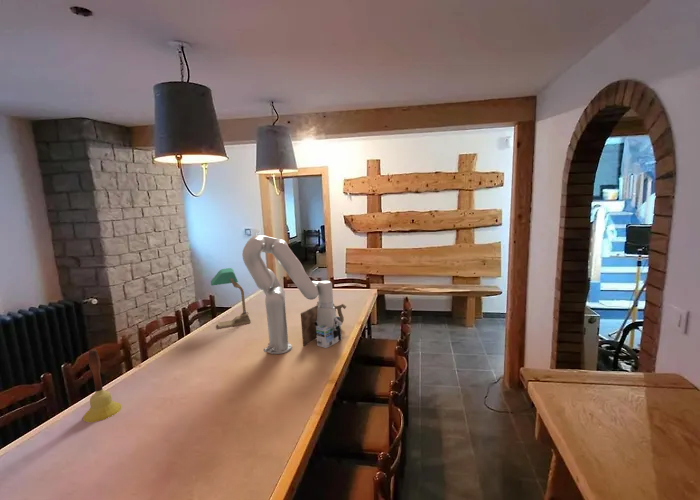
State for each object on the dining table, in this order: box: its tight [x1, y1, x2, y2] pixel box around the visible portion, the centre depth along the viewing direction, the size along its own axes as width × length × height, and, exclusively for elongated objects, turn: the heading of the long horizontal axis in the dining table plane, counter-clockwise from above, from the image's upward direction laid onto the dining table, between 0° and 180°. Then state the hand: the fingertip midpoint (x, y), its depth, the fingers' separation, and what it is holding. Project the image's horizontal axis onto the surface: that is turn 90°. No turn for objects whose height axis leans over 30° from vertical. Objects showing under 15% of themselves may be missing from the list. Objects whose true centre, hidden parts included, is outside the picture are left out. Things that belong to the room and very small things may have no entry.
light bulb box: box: [316, 323, 339, 349], centre depth 190 cm, size 11×7×11 cm, turn 144°
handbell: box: [82, 348, 123, 423], centre depth 135 cm, size 12×12×25 cm
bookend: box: [336, 315, 342, 341], centre depth 196 cm, size 1×14×13 cm, turn 61°
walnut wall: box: [300, 304, 318, 347], centre depth 194 cm, size 15×1×18 cm, turn 151°
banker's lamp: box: [210, 267, 252, 329], centre depth 226 cm, size 16×21×35 cm
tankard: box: [316, 302, 347, 326], centre depth 213 cm, size 20×13×15 cm, turn 62°
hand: (328, 335), depth 190 cm, fingers open, 9 cm apart
